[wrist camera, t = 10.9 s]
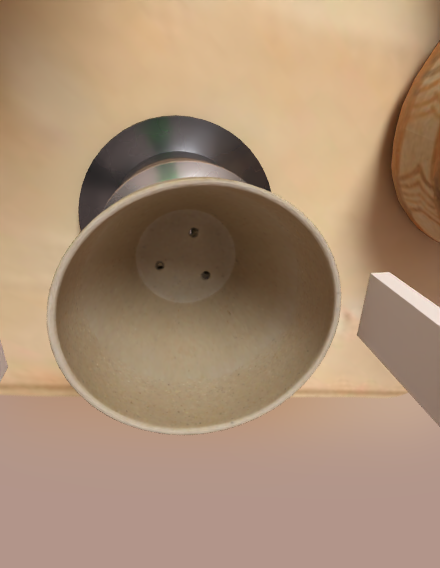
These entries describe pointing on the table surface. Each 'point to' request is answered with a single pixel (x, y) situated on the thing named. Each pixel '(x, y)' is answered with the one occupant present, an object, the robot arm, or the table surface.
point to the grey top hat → (164, 161)
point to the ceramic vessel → (420, 149)
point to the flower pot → (193, 306)
